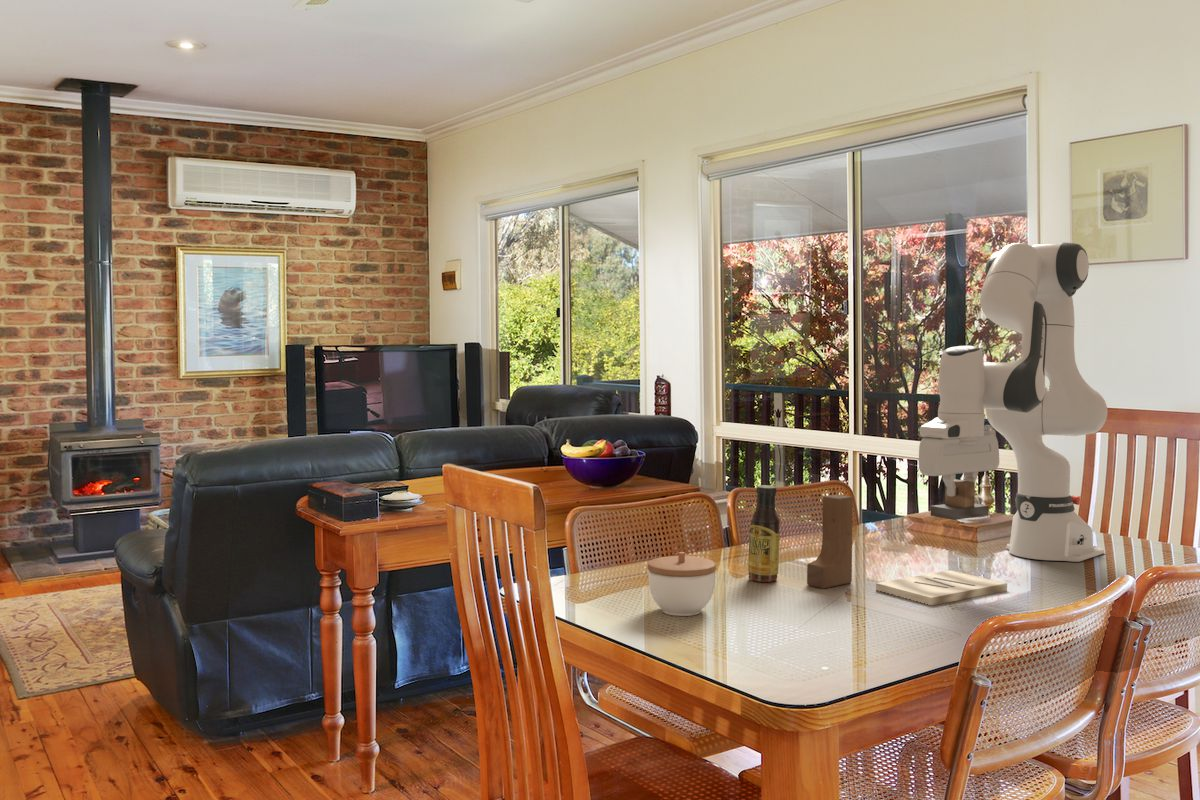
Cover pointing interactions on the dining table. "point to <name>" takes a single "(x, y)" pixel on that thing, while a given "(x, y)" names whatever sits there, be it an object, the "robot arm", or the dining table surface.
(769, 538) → the sauce bottle
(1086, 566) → the dining table surface
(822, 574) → the wooden block
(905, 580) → the birch board
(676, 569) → the lidded bowl
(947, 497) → the block
